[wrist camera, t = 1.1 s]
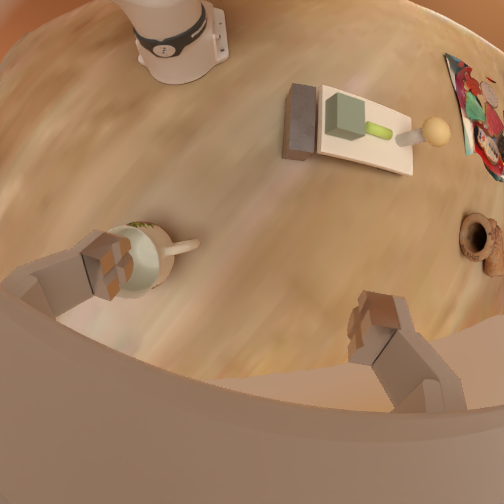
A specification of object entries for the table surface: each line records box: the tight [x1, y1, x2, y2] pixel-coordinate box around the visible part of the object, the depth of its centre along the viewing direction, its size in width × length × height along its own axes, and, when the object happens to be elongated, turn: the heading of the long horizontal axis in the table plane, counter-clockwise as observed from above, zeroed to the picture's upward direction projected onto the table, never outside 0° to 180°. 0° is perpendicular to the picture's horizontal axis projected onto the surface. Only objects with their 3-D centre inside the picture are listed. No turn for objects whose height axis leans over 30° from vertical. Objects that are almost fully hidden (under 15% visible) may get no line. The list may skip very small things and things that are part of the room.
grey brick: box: [282, 83, 391, 172], centre depth 43 cm, size 12×25×7 cm, turn 85°
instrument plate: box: [317, 85, 450, 176], centre depth 35 cm, size 20×12×14 cm, turn 85°
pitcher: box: [107, 222, 200, 299], centre depth 41 cm, size 11×18×14 cm, turn 102°
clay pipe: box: [459, 213, 504, 277], centre depth 47 cm, size 19×11×15 cm
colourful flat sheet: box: [445, 53, 504, 182], centre depth 47 cm, size 35×35×2 cm
